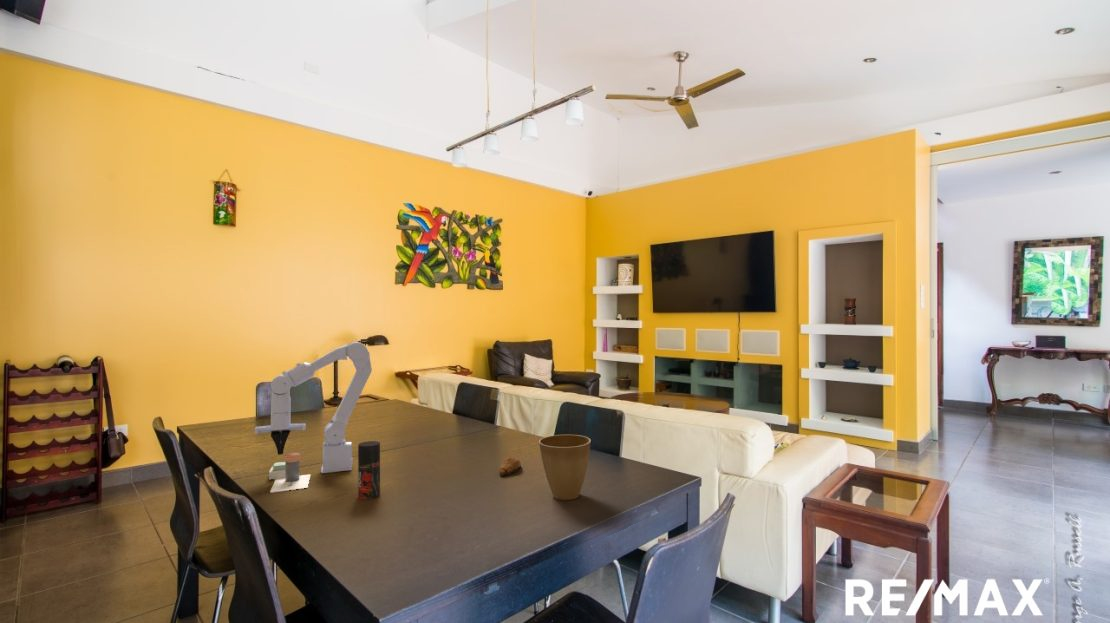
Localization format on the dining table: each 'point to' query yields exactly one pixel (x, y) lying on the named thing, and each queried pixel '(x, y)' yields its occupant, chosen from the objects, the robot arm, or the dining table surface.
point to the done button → (279, 466)
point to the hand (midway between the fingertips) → (280, 453)
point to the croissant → (509, 466)
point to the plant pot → (565, 463)
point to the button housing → (276, 474)
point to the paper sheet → (290, 484)
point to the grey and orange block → (292, 467)
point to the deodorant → (368, 469)
